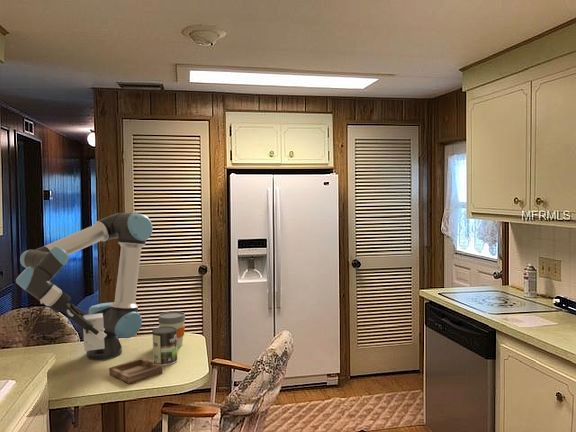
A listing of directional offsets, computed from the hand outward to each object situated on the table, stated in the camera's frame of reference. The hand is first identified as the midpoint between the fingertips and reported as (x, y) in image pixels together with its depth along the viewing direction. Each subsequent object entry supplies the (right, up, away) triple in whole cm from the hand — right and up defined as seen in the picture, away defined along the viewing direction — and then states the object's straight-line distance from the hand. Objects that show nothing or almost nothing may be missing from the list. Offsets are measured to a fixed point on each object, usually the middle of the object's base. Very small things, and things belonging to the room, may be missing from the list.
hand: (103, 334), depth 194 cm
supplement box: (-3, -5, -1) cm, 6 cm away
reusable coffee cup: (+18, -15, +40) cm, 47 cm away
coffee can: (+20, -17, +20) cm, 33 cm away
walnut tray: (+11, -18, +6) cm, 22 cm away
